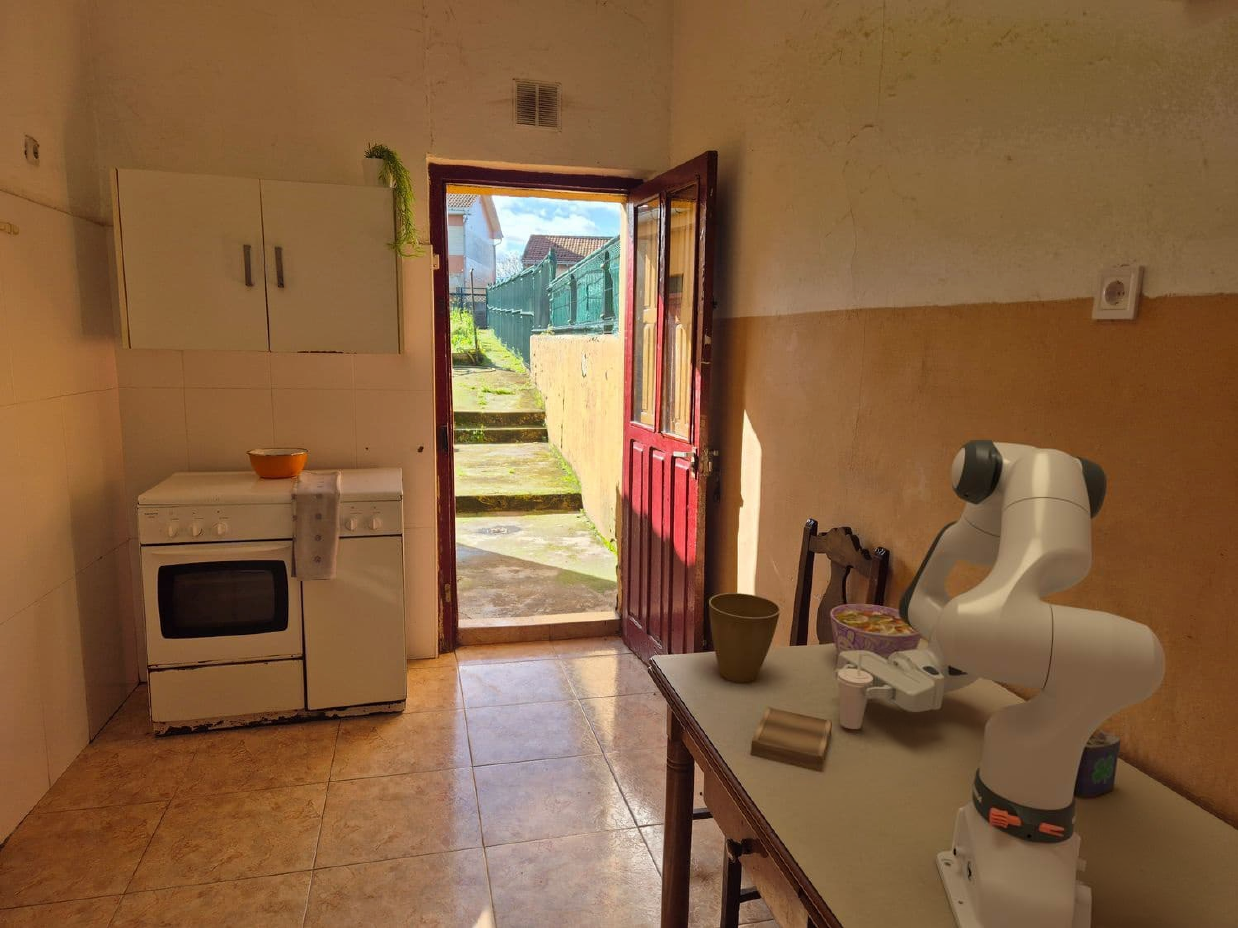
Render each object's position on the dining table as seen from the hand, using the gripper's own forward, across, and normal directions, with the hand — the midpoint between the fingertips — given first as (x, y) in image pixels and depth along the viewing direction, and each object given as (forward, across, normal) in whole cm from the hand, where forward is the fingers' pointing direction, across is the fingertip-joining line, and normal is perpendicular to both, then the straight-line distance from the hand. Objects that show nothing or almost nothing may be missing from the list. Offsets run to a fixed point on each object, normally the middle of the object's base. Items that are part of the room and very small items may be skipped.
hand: (850, 683), depth 143 cm
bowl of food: (-24, -21, +9) cm, 33 cm away
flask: (-26, +30, +9) cm, 41 cm away
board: (+13, +1, +9) cm, 16 cm away
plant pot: (+7, -26, +9) cm, 29 cm away
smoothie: (-1, 0, +8) cm, 8 cm away
